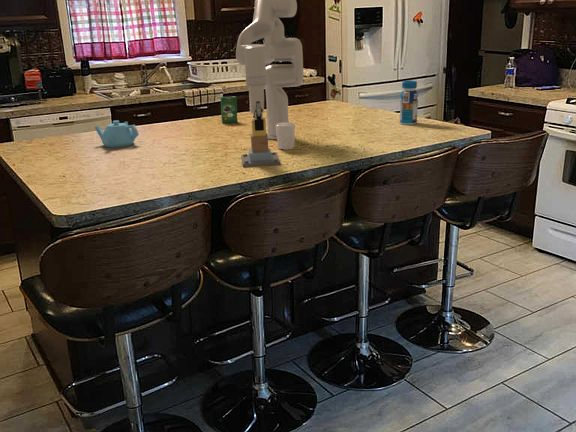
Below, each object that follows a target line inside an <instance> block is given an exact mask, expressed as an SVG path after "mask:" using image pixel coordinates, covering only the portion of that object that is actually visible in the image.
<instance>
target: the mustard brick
mask: <svg viewBox="0 0 576 432" xmlns="http://www.w3.org/2000/svg"><path fill="white" fill-rule="evenodd" d="M250 121H251V122H250V123H251V134H252V135H253V137H254V136H266V133H267V125H266V124H267V123H266V121H267V119H266V118H265V117H264V116H263V123H264V130H262V131H255V118H253V117H251V119H250Z"/></svg>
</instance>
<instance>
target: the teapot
mask: <svg viewBox="0 0 576 432" xmlns="http://www.w3.org/2000/svg"><path fill="white" fill-rule="evenodd" d="M94 129H95V131H96V133H97V135H98V136H99V138H100V140H101V143H102V144H103V146H104V147H106V148H112V149H114V148H115V149H116V148H125V147H126V148H127V147H129V146H132V145H133V143H134V142H135V140H136V139H137V137H138V136H139V131H138V130H137V127H136V124H131V125H129V122H128V121H124V122H120V120H113V121H112V123H110V124H107V125H106V126H105V127H104V130H103V129H102V128H101V127H100V126H99V125H97V126H96V125H95V126H94Z"/></svg>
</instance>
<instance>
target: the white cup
mask: <svg viewBox="0 0 576 432" xmlns="http://www.w3.org/2000/svg"><path fill="white" fill-rule="evenodd" d="M295 130H296V123H295V122H283V123H277V124H276V135H277V139H276V142H277V148H278V149H279V150H281V149H284V150H283V151H285V150H288V149H289V150H293V149H295V140H296V139H295V138H296V134H295V133H296V131H295Z"/></svg>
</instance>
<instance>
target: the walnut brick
mask: <svg viewBox="0 0 576 432" xmlns="http://www.w3.org/2000/svg"><path fill="white" fill-rule="evenodd" d="M267 133H268V132H266V136H254V137H253V135H252V133H250V144H251V146H250V147H251V148H250V149H252V153H256V152H268V148H269V139H268V135H267Z"/></svg>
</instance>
